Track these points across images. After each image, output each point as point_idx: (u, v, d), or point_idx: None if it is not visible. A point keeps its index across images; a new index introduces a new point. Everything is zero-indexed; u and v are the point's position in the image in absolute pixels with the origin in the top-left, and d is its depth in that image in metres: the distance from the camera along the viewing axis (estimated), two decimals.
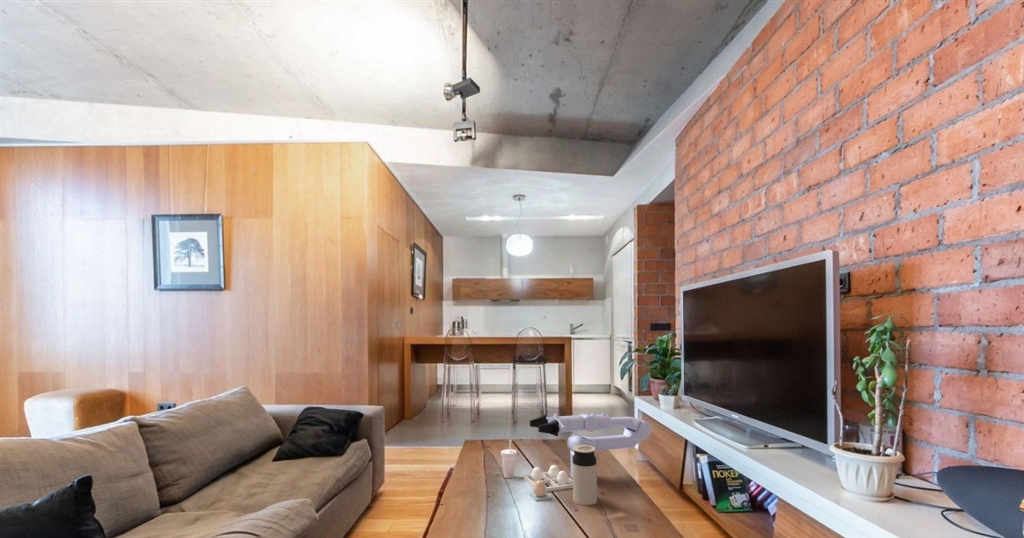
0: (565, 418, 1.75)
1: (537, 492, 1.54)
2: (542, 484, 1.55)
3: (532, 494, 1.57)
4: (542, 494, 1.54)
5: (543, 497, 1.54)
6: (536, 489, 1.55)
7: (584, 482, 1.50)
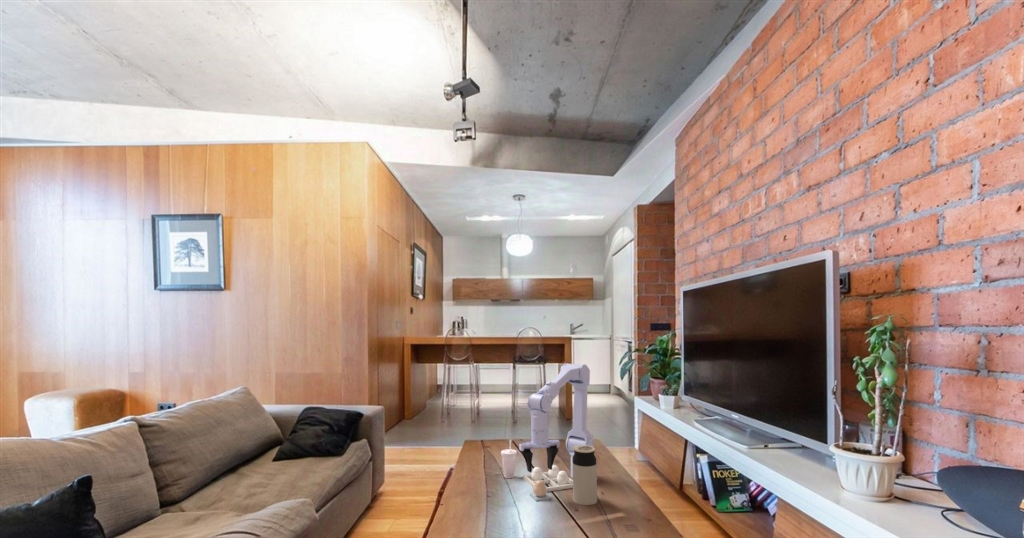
0: (546, 434, 1.56)
1: (537, 492, 1.54)
2: (542, 484, 1.55)
3: (532, 494, 1.57)
4: (542, 494, 1.54)
5: (543, 497, 1.54)
6: (536, 489, 1.55)
7: (584, 482, 1.50)
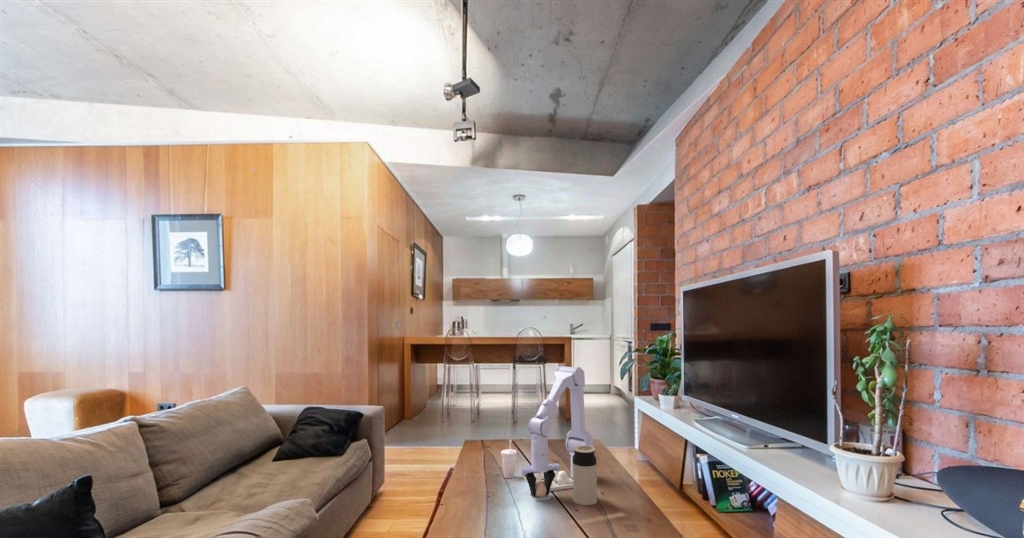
0: (546, 458, 1.56)
1: (537, 492, 1.54)
2: (542, 484, 1.55)
3: None
4: (542, 494, 1.54)
5: (543, 497, 1.54)
6: (536, 489, 1.55)
7: (584, 482, 1.50)
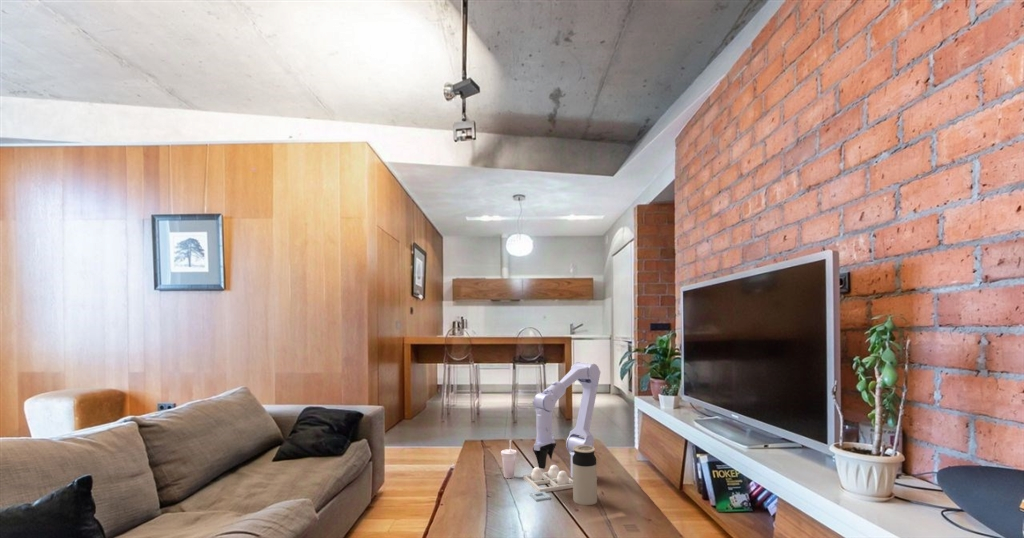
0: None
1: (546, 463, 1.63)
2: (548, 455, 1.65)
3: (532, 494, 1.57)
4: (550, 464, 1.64)
5: (543, 497, 1.54)
6: None
7: (584, 482, 1.50)
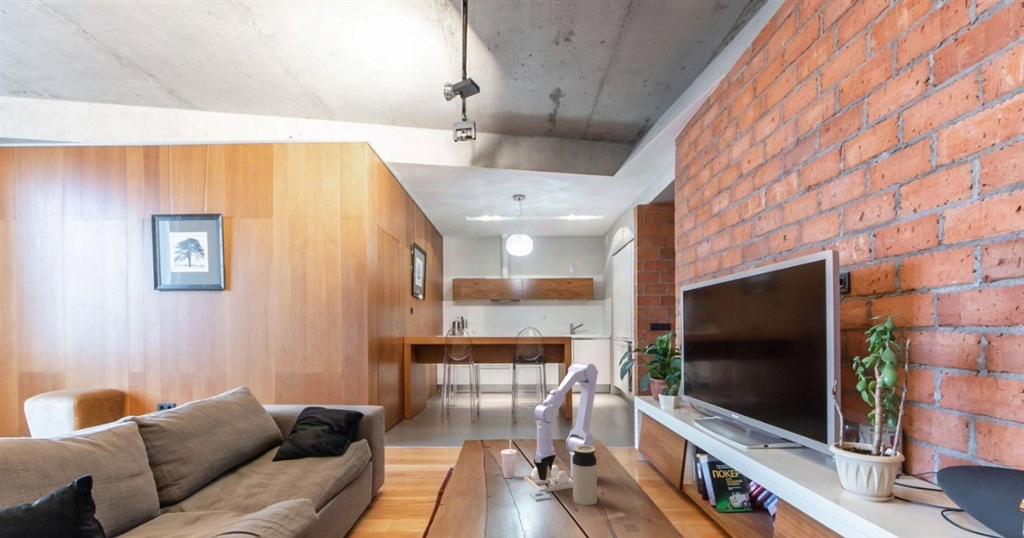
0: None
1: (547, 475, 1.63)
2: (549, 467, 1.65)
3: (532, 494, 1.57)
4: (550, 476, 1.64)
5: (543, 497, 1.54)
6: None
7: (584, 482, 1.50)
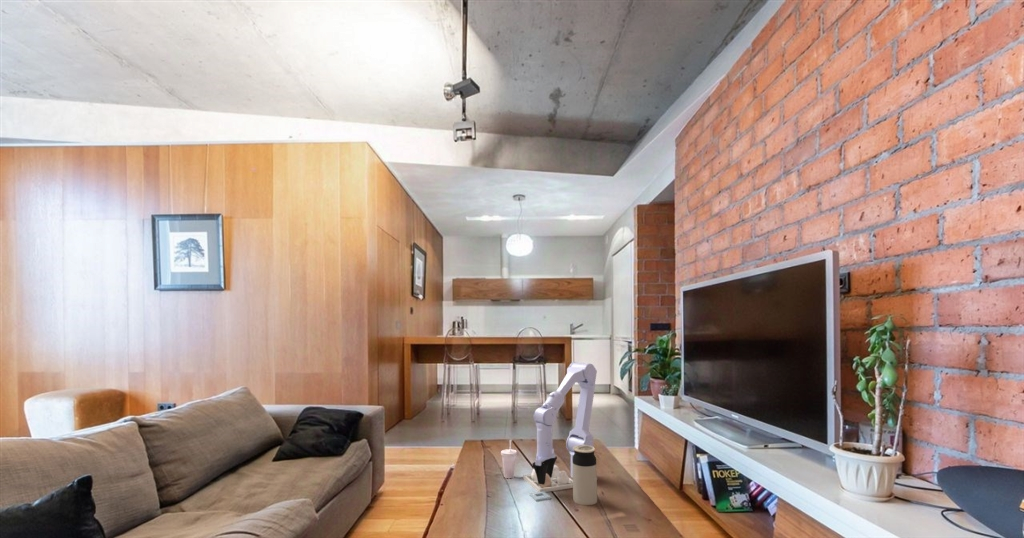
0: None
1: (547, 484, 1.63)
2: (549, 476, 1.65)
3: (532, 494, 1.57)
4: (550, 485, 1.64)
5: (543, 497, 1.54)
6: (546, 482, 1.63)
7: (584, 482, 1.50)
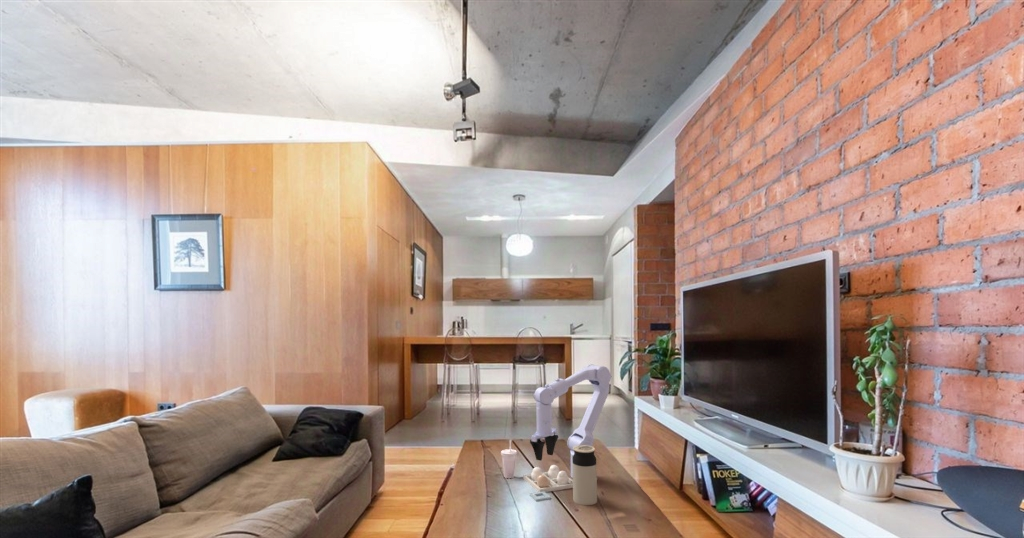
0: (551, 423, 1.72)
1: (545, 486, 1.62)
2: (545, 477, 1.63)
3: (532, 494, 1.57)
4: (549, 484, 1.64)
5: (543, 497, 1.54)
6: (544, 485, 1.62)
7: (584, 482, 1.50)
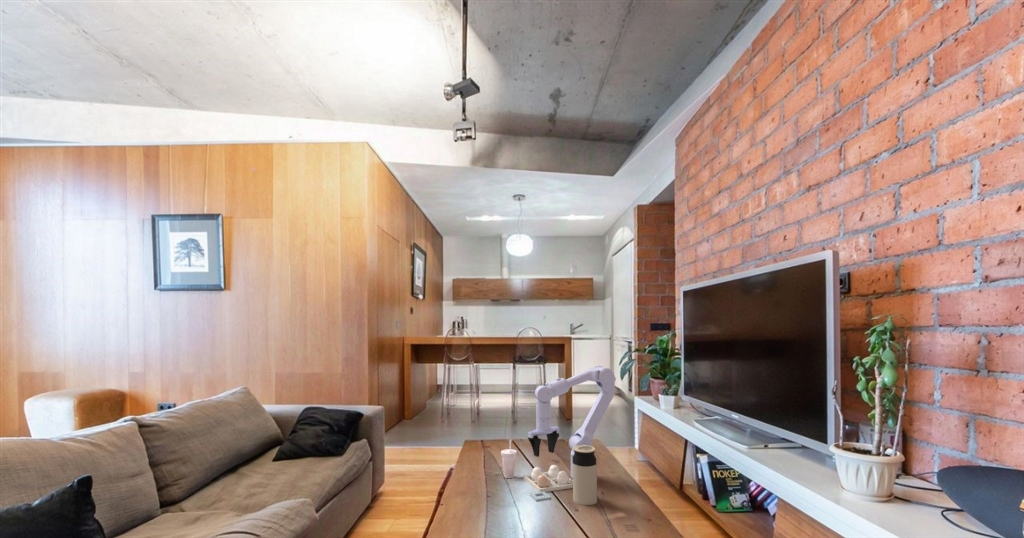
0: (550, 421, 1.75)
1: (545, 486, 1.62)
2: (545, 477, 1.63)
3: (532, 494, 1.57)
4: (549, 484, 1.64)
5: (543, 497, 1.54)
6: (544, 485, 1.62)
7: (584, 482, 1.50)
